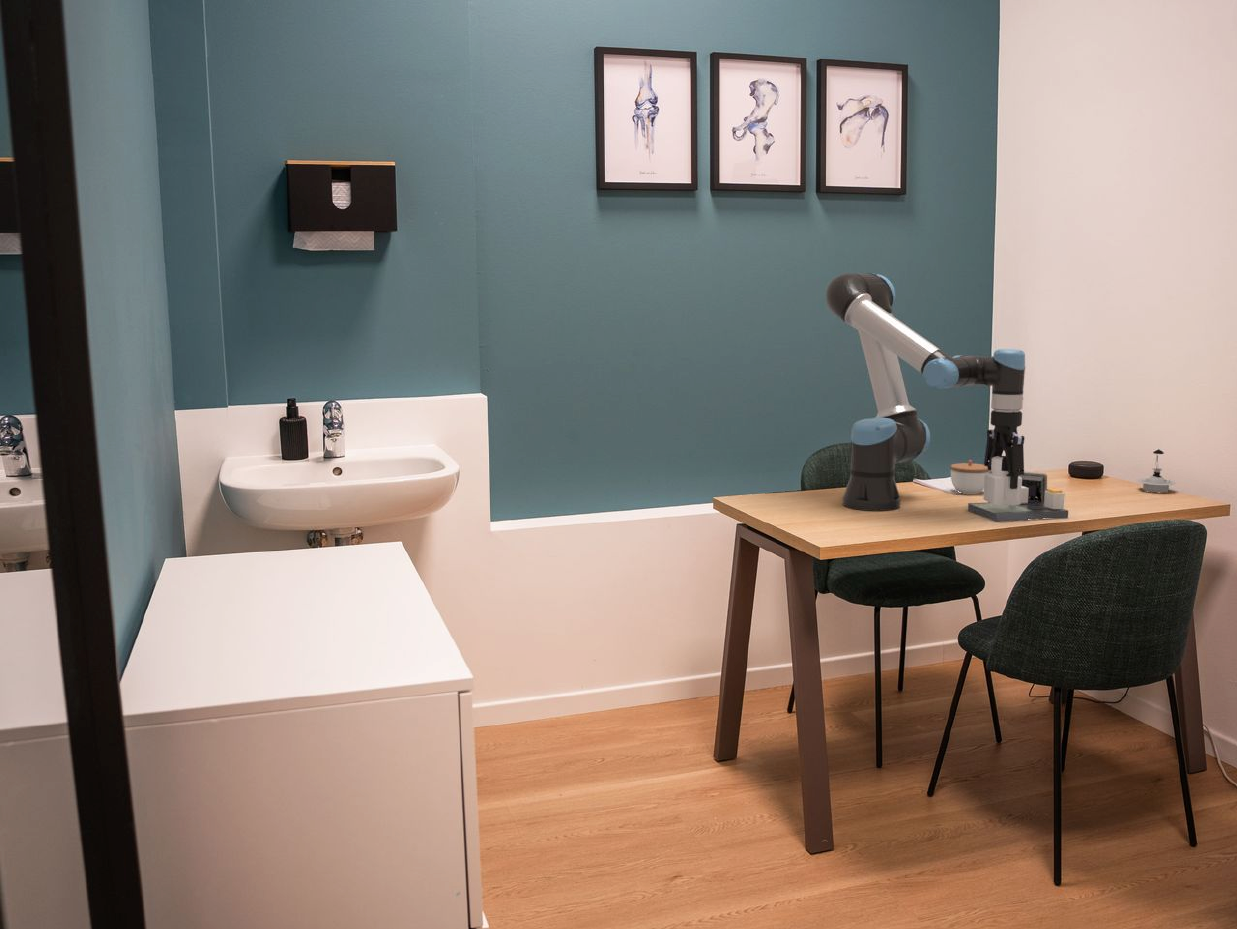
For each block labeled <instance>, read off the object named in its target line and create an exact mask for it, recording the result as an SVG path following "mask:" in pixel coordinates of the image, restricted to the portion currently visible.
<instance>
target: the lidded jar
mask: <svg viewBox="0 0 1237 929" xmlns="http://www.w3.org/2000/svg"><path fill="white" fill-rule="evenodd" d="M985 473H989V470H988V468H987V466H984V463H983V464H982V463H973V460H971V459H970V460H968V462H963V463H960V462H959V463H953V464H950V479H951V484H952V485H953V486H952V487H954V489H955V490H956V491H957V492H958V491H959V492H961V493H963V494H964V495H979V493H981V492H982V491H984V478H985ZM961 493H960V494H961Z"/></svg>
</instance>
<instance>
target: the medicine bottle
mask: <svg viewBox="0 0 1237 929" xmlns="http://www.w3.org/2000/svg"><path fill="white" fill-rule="evenodd" d="M991 472H992V473H985V478H984V489H983V496H982V497H983V500H984V502H989V503H991V504H993V505H1020V504H1021V488H1022V478H1021V477H1019V476H1018V487H1017V498H1016V501H1005V493H1006V475H1007V474H1009V473H1008V467H1007V461H1006V455H1002V456H996V457H993V458H992V463H991Z"/></svg>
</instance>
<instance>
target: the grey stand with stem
mask: <svg viewBox="0 0 1237 929" xmlns="http://www.w3.org/2000/svg"><path fill="white" fill-rule="evenodd" d="M1153 454H1154V455H1155V454H1156V457H1155V460H1156V462H1158V459H1159V455H1164V451H1162V450H1160V449H1159V448H1158V449H1157V450H1154V451H1153ZM1155 466H1156V468H1152V470H1153V474H1152V475H1151V476H1149V477H1147V478H1139V479H1137V480H1136V482H1138V483H1140V484H1142V491H1143V492H1145V491H1148V492H1147V493H1150V492H1160V493H1159V494H1165V493H1164V492H1168V493H1169V489H1170V486H1173V485H1176V484H1177V482H1175V481H1172V480H1171V479H1165V478H1164V477H1163V476H1161V475H1160V474H1161V471H1163V469H1162V468H1158V466H1159V464H1158V463H1156V465H1155ZM1162 492H1163V493H1162Z"/></svg>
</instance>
